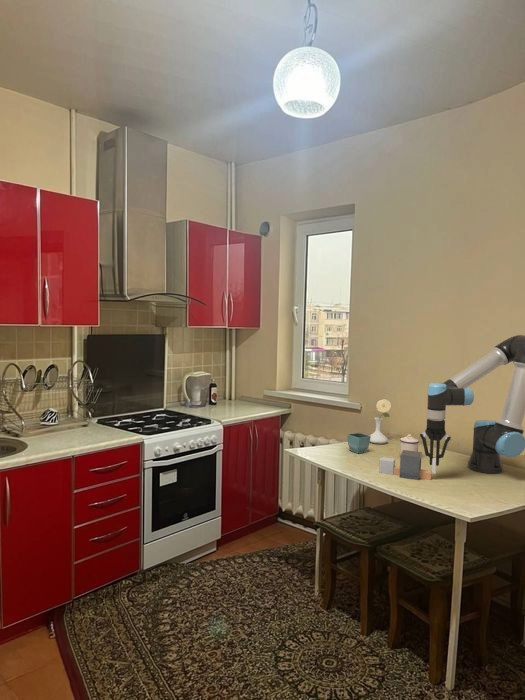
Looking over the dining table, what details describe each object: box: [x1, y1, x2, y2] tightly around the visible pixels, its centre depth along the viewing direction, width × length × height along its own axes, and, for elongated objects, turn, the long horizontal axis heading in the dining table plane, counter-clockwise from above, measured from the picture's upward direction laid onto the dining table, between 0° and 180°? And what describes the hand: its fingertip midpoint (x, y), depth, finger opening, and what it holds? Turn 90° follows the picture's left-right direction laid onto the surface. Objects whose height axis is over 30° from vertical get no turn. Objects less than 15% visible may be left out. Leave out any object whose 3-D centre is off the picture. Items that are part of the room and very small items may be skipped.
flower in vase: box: [369, 398, 392, 445], centre depth 280 cm, size 13×11×25 cm
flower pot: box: [346, 432, 371, 454], centre depth 260 cm, size 9×9×9 cm
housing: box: [398, 450, 423, 481], centre depth 223 cm, size 8×10×10 cm
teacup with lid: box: [399, 433, 420, 457], centre depth 254 cm, size 12×9×12 cm
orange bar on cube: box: [378, 456, 433, 481], centre depth 224 cm, size 22×5×6 cm, turn 68°
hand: (433, 472), depth 219 cm, fingers closed
